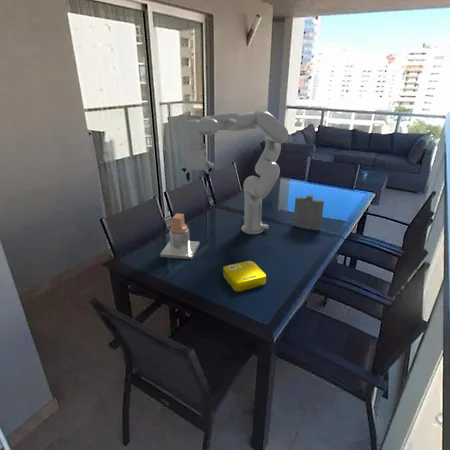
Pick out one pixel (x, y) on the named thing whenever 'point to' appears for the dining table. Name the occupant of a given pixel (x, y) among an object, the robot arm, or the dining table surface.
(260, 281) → the element tile
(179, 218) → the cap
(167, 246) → the hex socket plate
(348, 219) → the dining table surface
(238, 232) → the dining table surface
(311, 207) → the hip flask
